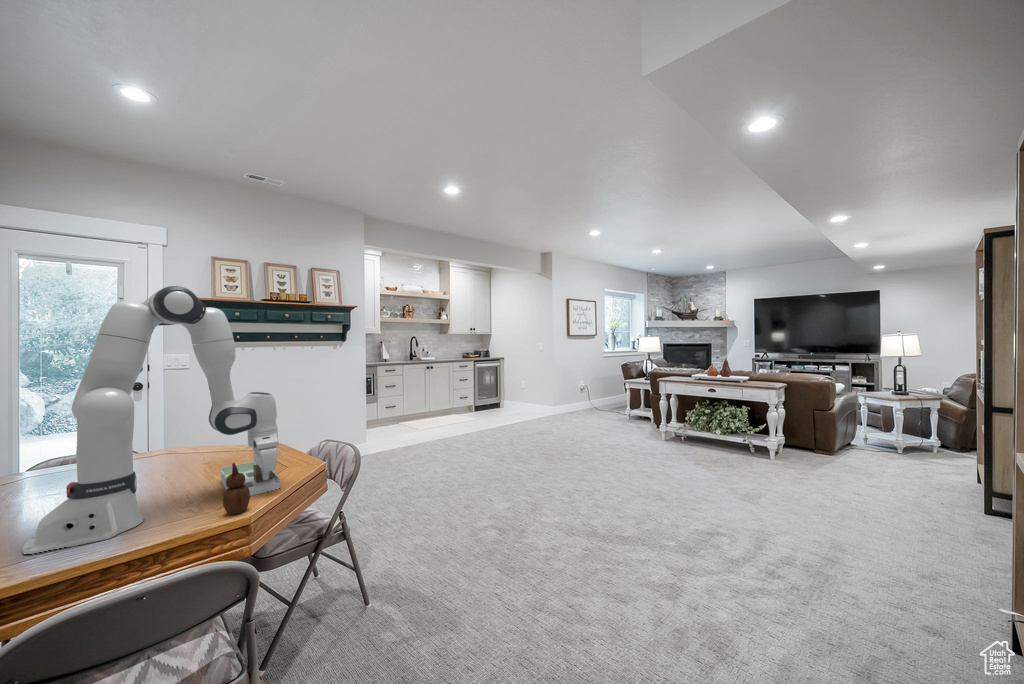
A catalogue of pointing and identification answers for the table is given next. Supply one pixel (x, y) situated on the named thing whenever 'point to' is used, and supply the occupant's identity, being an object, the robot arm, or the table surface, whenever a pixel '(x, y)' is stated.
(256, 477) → the walnut block
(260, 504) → the table surface
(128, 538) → the table surface
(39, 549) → the robot arm
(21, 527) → the table surface
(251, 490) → the box
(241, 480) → the wooden figurine
